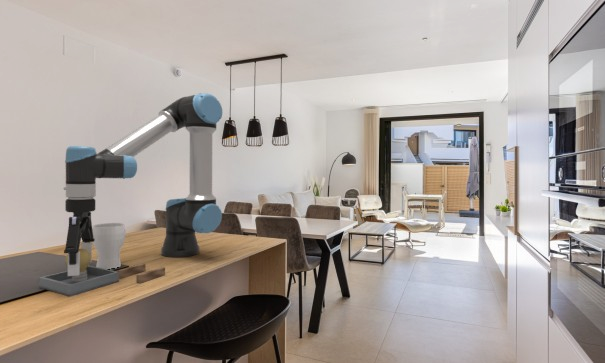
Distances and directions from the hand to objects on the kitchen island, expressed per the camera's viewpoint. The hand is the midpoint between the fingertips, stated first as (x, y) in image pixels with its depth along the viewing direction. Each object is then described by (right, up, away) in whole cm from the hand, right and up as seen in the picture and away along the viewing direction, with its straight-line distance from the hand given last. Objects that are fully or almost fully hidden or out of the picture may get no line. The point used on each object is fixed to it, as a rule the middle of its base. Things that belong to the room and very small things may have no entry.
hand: (80, 268), depth 102 cm
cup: (-2, -4, +19) cm, 19 cm away
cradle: (+14, -5, +9) cm, 17 cm away
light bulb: (0, -4, 0) cm, 4 cm away
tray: (0, -5, 0) cm, 5 cm away
